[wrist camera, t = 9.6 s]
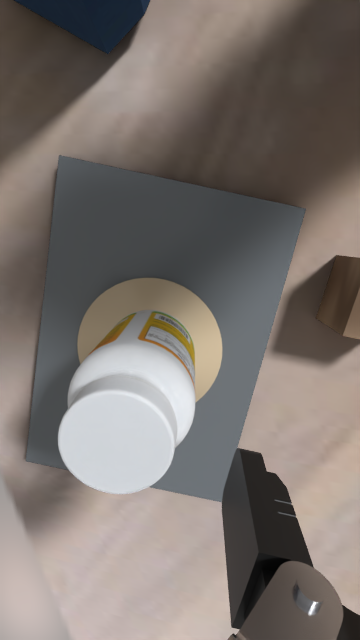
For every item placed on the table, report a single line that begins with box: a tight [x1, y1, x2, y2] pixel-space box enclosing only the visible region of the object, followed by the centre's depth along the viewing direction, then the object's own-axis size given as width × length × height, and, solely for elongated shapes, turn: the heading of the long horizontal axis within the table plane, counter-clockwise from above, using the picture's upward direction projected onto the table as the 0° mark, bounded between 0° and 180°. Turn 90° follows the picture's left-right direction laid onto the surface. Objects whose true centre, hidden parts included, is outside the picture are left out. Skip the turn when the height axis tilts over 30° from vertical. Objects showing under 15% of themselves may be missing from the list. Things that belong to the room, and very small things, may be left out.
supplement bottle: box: [58, 310, 196, 494], centre depth 16 cm, size 5×5×10 cm
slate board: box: [26, 155, 306, 502], centre depth 21 cm, size 20×14×1 cm
